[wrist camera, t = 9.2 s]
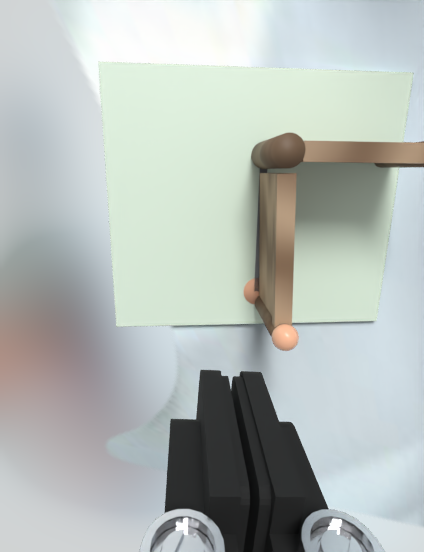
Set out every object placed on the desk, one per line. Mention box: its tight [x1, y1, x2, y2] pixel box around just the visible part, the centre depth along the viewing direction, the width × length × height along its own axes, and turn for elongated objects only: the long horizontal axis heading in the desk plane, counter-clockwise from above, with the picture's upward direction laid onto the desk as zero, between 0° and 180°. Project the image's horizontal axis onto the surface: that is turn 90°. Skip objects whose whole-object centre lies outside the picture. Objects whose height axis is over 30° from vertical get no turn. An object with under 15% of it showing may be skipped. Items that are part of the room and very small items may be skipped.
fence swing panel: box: [255, 173, 299, 351], centre depth 26 cm, size 12×2×8 cm, turn 2°
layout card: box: [98, 62, 414, 327], centre depth 29 cm, size 23×20×1 cm
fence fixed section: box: [251, 133, 424, 169], centre depth 25 cm, size 11×2×7 cm, turn 89°
